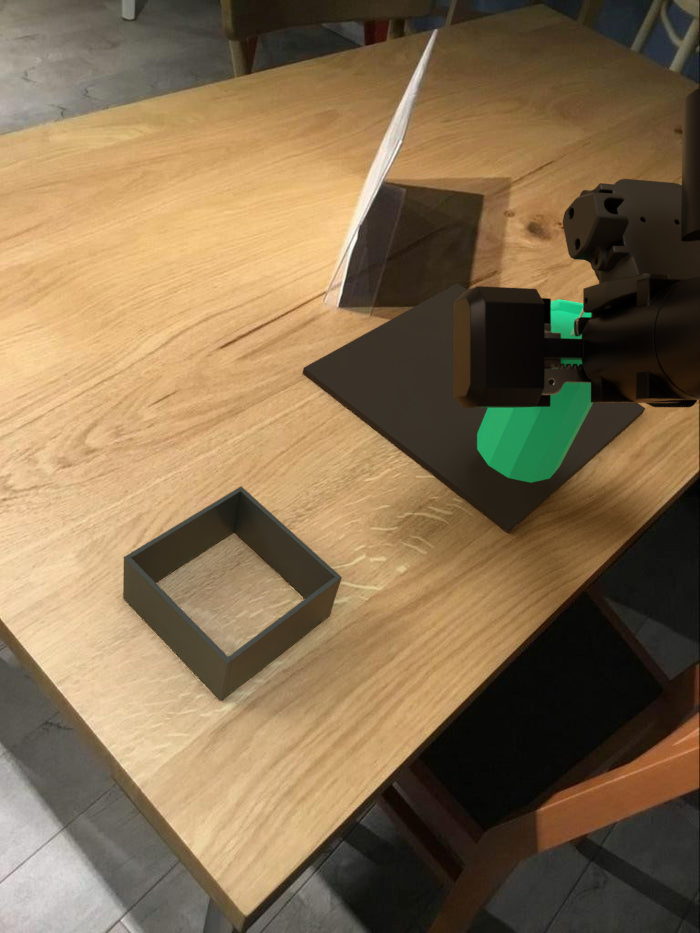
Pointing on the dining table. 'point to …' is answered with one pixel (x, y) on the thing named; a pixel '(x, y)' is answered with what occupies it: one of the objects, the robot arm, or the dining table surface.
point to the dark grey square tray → (195, 538)
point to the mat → (445, 409)
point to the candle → (538, 419)
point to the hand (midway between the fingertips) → (544, 363)
